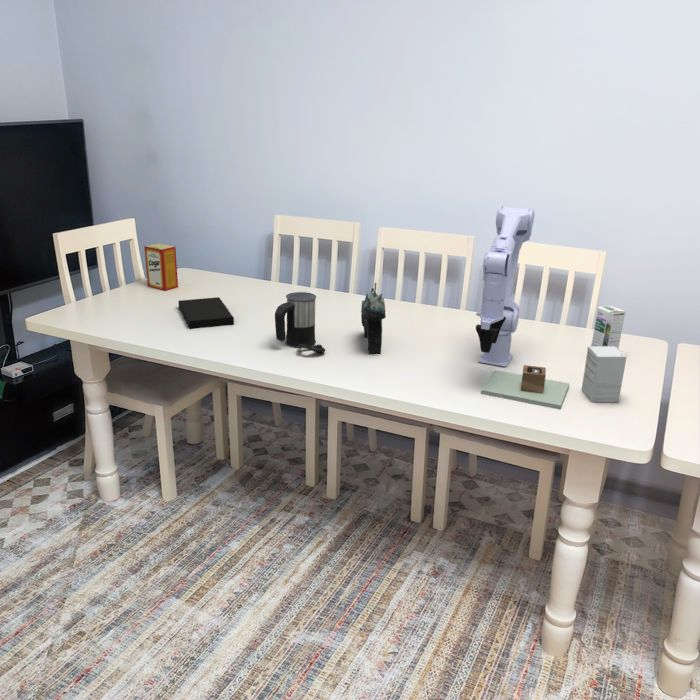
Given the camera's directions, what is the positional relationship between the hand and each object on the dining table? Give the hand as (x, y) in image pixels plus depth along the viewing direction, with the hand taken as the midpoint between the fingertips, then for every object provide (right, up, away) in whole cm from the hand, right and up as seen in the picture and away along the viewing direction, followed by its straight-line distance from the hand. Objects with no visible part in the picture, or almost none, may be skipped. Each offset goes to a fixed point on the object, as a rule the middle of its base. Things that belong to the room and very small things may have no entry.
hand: (488, 347), depth 182 cm
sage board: (+9, -11, -2) cm, 15 cm away
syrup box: (+39, -2, +23) cm, 45 cm away
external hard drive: (-85, +10, +48) cm, 98 cm away
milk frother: (-50, 0, +23) cm, 55 cm away
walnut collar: (+11, -11, -3) cm, 15 cm away
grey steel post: (+11, -12, -3) cm, 16 cm away
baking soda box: (-108, +23, +79) cm, 136 cm away
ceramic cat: (-31, +1, +26) cm, 40 cm away
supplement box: (+28, -13, -5) cm, 31 cm away
